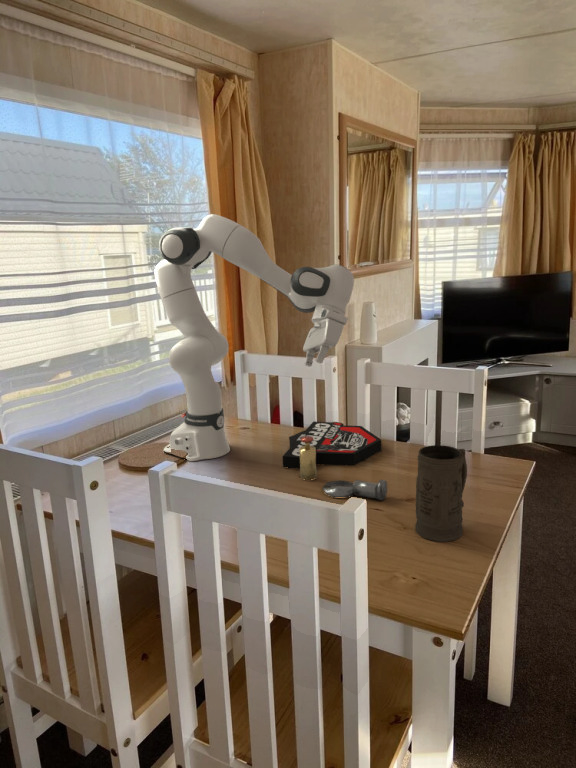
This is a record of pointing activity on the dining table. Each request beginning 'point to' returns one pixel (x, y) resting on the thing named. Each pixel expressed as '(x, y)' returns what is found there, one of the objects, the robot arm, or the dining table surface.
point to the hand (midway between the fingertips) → (313, 364)
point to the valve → (307, 459)
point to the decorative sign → (334, 444)
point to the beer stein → (440, 492)
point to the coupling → (356, 489)
